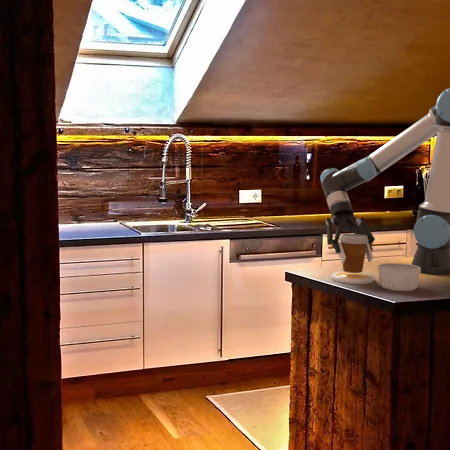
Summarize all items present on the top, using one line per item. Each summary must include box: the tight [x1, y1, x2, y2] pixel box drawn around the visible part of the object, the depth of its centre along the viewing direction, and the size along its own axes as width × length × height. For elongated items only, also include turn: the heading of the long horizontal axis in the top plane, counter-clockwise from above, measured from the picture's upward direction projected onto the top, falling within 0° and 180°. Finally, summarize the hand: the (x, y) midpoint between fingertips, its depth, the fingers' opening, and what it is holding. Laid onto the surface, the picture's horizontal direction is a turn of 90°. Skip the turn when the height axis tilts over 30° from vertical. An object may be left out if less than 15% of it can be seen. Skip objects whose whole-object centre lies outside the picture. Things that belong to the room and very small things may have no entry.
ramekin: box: [377, 262, 421, 292], centre depth 223 cm, size 13×13×7 cm
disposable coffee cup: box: [339, 233, 369, 273], centre depth 233 cm, size 10×10×12 cm
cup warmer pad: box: [330, 270, 375, 285], centre depth 234 cm, size 14×14×2 cm
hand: (357, 260), depth 230 cm, fingers closed on disposable coffee cup, 9 cm apart
